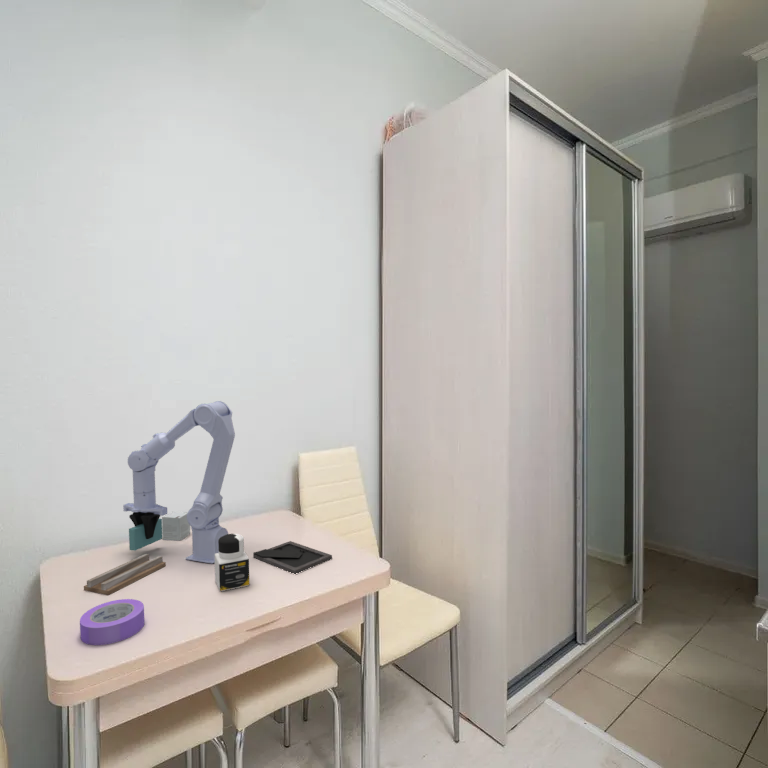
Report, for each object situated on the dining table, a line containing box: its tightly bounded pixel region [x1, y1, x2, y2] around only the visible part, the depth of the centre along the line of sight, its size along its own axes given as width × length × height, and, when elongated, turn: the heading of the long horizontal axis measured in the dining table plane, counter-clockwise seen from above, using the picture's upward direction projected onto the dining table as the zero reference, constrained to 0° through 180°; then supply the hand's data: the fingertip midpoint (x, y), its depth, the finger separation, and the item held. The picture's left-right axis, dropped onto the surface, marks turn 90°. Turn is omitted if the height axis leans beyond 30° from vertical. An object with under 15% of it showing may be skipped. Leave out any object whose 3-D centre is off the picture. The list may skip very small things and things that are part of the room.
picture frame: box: [252, 540, 333, 575], centre depth 139 cm, size 13×2×18 cm
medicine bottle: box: [214, 533, 250, 592], centre depth 124 cm, size 7×7×12 cm
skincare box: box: [161, 511, 191, 542], centre depth 158 cm, size 6×6×7 cm
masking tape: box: [79, 598, 146, 646], centre depth 103 cm, size 12×12×4 cm
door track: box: [83, 553, 167, 596], centre depth 128 cm, size 8×18×2 cm, turn 160°
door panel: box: [128, 518, 163, 551], centre depth 144 cm, size 2×10×6 cm, turn 160°
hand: (146, 537), depth 144 cm, fingers closed on door panel, 2 cm apart
